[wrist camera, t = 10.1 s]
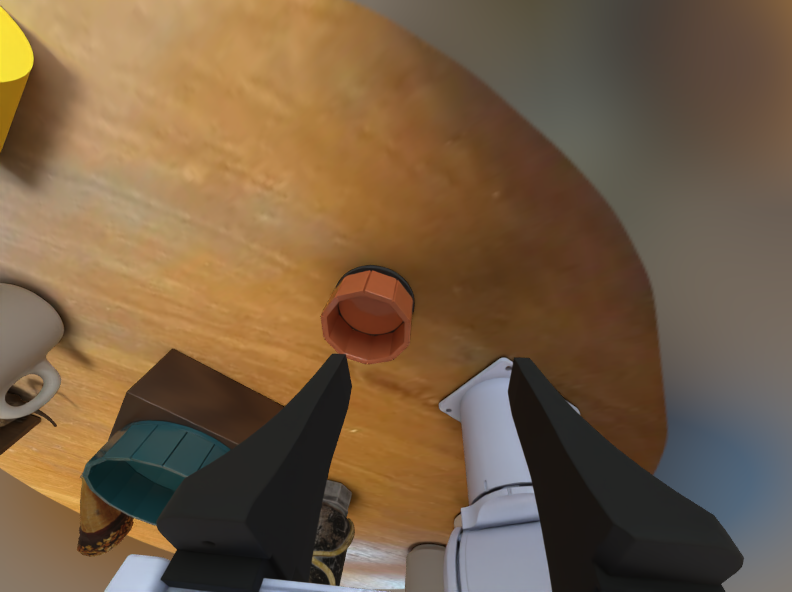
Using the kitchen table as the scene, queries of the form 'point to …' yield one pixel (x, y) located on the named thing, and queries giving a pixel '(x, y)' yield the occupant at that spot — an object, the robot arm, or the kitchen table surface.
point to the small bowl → (368, 317)
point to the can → (425, 569)
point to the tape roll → (12, 70)
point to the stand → (196, 401)
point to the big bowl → (148, 465)
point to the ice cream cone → (100, 524)
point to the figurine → (17, 424)
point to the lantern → (332, 536)
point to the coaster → (385, 272)
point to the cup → (26, 346)
